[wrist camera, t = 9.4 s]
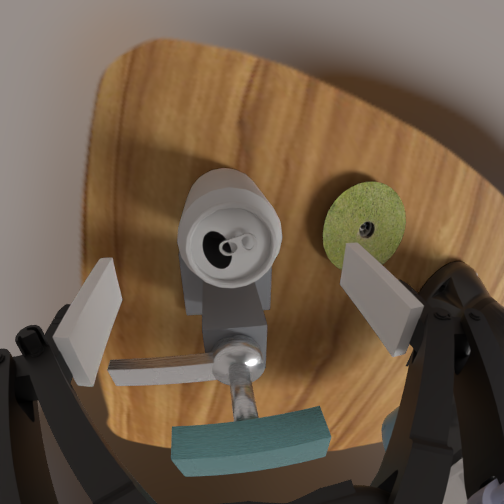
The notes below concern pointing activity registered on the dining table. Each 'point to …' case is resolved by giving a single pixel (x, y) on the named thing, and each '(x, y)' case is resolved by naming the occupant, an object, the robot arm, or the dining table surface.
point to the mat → (365, 222)
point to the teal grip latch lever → (244, 411)
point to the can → (228, 230)
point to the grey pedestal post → (228, 308)
